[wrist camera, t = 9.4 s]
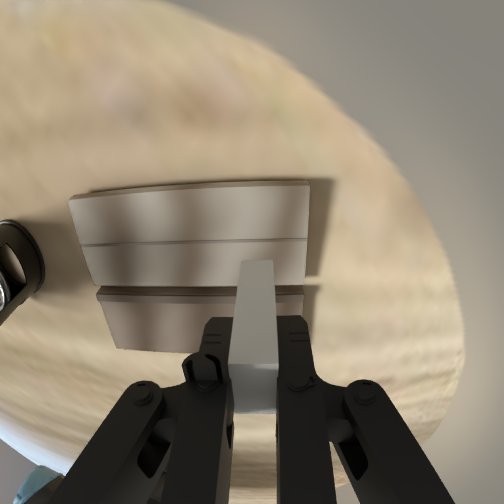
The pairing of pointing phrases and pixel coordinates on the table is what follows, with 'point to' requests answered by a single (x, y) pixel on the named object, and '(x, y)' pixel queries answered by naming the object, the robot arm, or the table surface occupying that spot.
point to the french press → (28, 253)
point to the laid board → (176, 314)
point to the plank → (193, 232)
